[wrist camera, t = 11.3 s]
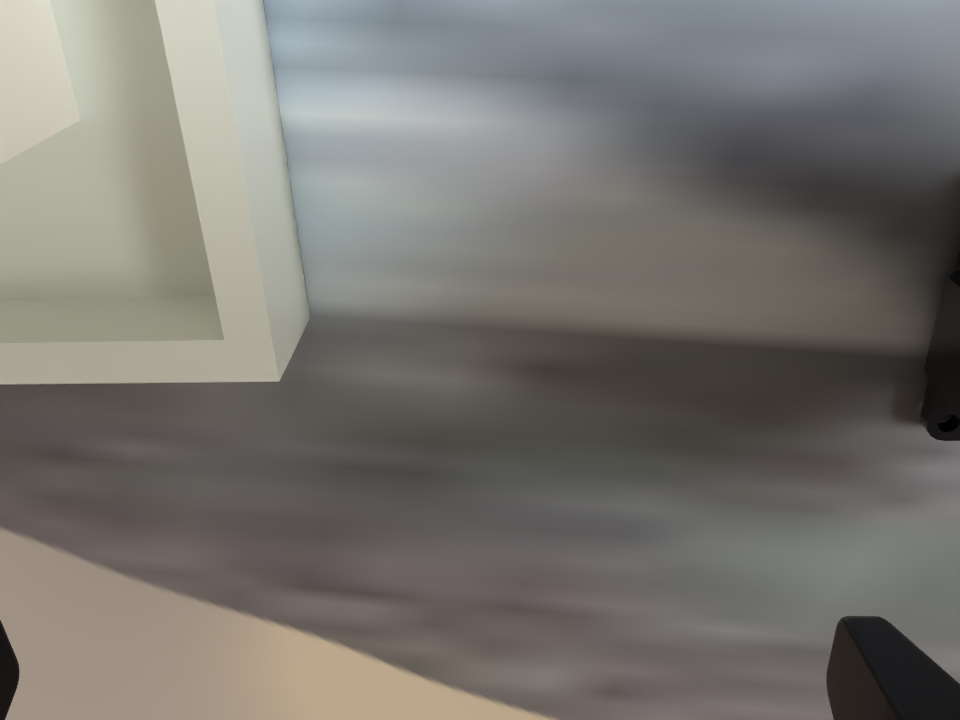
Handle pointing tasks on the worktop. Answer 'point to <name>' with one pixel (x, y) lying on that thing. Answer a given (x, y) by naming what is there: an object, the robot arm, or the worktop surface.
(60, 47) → the cream block
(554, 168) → the worktop surface
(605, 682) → the worktop surface
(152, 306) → the tray
